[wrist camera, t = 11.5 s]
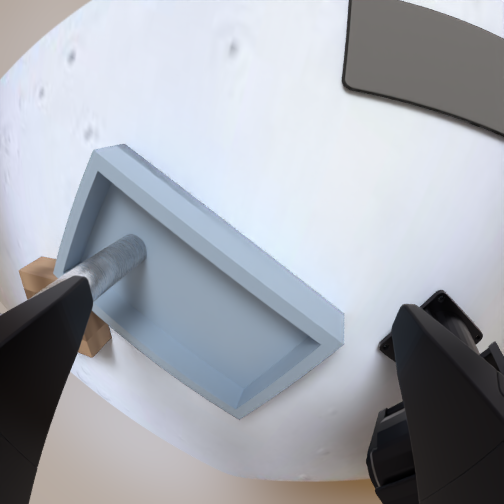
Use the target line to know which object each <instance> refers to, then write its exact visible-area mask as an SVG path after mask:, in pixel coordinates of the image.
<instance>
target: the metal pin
mask: <svg viewBox="0 0 504 504" xmlns="http://www.w3.org/2000/svg"><path fill="white" fill-rule="evenodd" d="M146 255H147V249H146V246H145V244H144V242H143V240H142V239H141V238H140V237H138V236H137V235H134V234H127V235H125V236H124V237H122V238H120V239H119V240H117V241H115V242H114V243H112V244H111V245H109V246H107V247H106V248H104V249H103V250H101V251H99V252H98V253H96V254H95V255H93V256H92V257H90V258H88V259H87V260H85V261H84V262H82V263H81V264H79V265H78V266H76V267H75V268H73V269H72V270H70V271H69V272H67V273H66V274H64V275H63V276H61V277H60V278H58V279H57V280H55V281H54V282H52V283H51V284H49V285H48V286H47V287H45V288H44V289H42V290H41V291H39V292H38V293H37V294H35V295H34V296H36V295H38V294H40V293H41V292H43V291H45V290H47V289H49V288H51V287H53V286H55V285H56V284H58V283H60V282H62V281H64V280H66V279H68V278H70V277H72V276H74V275H77V276H84V277H86V278H87V279H88V281H89V285H90V289H91V293H92V297H93V302H94V301H95V300H97V299H98V298H99V297H100V296H101V295H103V294H104V293H105V292H106V291H107V290H109V289H110V288H111V287H112V286H113V285H115V284H116V283H117V282H118V281H119V280H121V279H122V278H123V277H124V276H126V275H127V274H128V273H129V272H131V271H132V270H133V269H134V268H136V267H137V266H138V265H139V264H141V263H142V262H143V261H144V260H145V258H146ZM34 296H32V297H34ZM32 297H31V298H32ZM28 300H29V299H28ZM0 315H2V314H1V313H0Z"/></svg>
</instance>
